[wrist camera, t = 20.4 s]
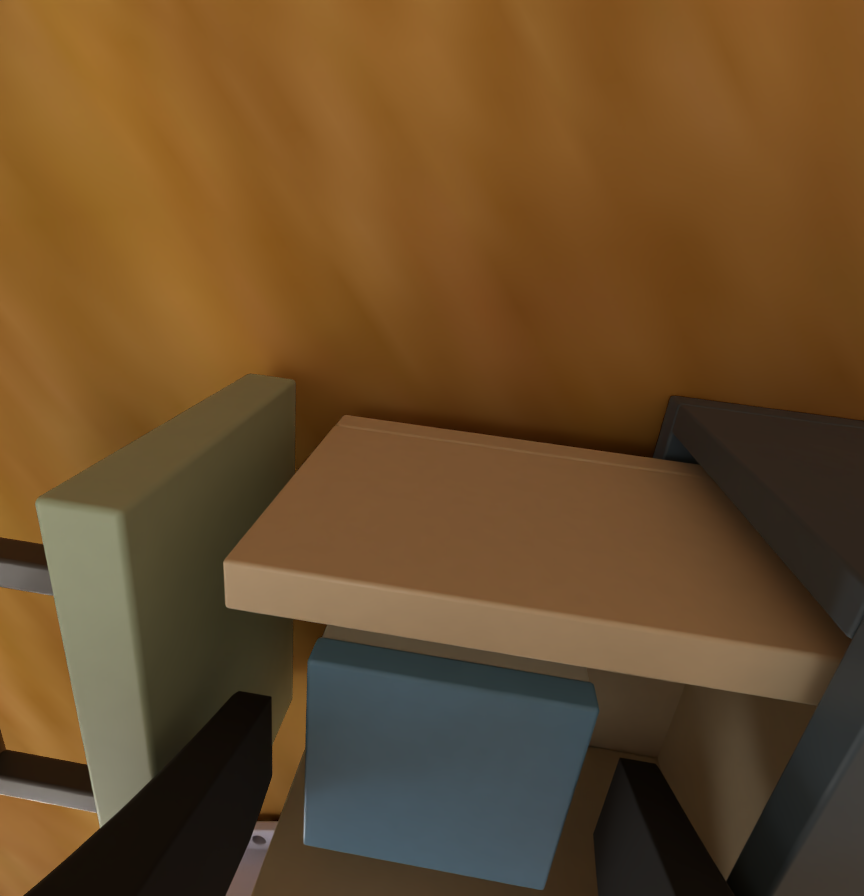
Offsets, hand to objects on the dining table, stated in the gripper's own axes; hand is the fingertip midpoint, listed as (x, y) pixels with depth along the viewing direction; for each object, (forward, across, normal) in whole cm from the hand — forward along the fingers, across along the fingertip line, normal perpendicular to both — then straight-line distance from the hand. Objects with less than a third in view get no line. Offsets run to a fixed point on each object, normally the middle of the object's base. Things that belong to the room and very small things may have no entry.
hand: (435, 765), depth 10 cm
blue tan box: (+4, 0, 0) cm, 4 cm away
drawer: (+5, +2, 0) cm, 6 cm away
